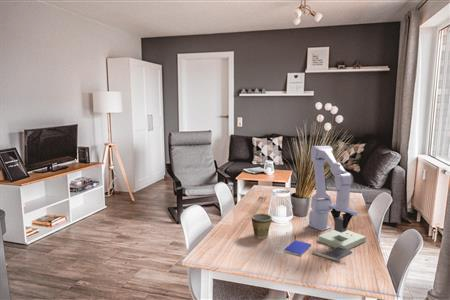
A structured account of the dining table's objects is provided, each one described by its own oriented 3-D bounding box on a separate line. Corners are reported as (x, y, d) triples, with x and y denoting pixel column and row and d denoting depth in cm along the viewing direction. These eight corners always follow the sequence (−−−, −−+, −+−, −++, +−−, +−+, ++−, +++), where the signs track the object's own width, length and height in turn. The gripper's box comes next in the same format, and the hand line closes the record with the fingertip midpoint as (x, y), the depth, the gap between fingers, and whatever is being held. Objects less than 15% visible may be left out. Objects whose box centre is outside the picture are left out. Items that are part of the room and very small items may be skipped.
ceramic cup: (270, 241, 155) (271, 221, 153) (249, 239, 157) (250, 219, 155) (272, 230, 167) (272, 212, 166) (253, 229, 169) (253, 211, 168)
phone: (325, 254, 142) (325, 252, 142) (339, 247, 148) (340, 245, 148) (336, 259, 137) (337, 257, 137) (351, 252, 143) (351, 250, 143)
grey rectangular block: (334, 230, 152) (334, 217, 152) (339, 227, 155) (339, 216, 154) (341, 232, 149) (342, 220, 148) (346, 230, 152) (347, 218, 151)
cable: (311, 253, 142) (312, 251, 142) (313, 252, 143) (313, 250, 143) (339, 262, 135) (339, 260, 134) (340, 261, 136) (340, 259, 135)
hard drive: (294, 239, 154) (283, 249, 144) (311, 244, 150) (300, 254, 140) (294, 242, 155) (283, 252, 145) (311, 247, 150) (300, 257, 140)
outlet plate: (318, 240, 156) (318, 235, 156) (340, 232, 167) (340, 227, 166) (343, 251, 145) (344, 245, 145) (365, 241, 155) (365, 236, 155)
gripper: (324, 196, 153) (322, 223, 155) (351, 204, 142) (350, 233, 144) (333, 194, 158) (331, 220, 160) (360, 201, 146) (358, 229, 148)
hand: (341, 226), depth 152 cm, fingers closed on grey rectangular block, 4 cm apart
